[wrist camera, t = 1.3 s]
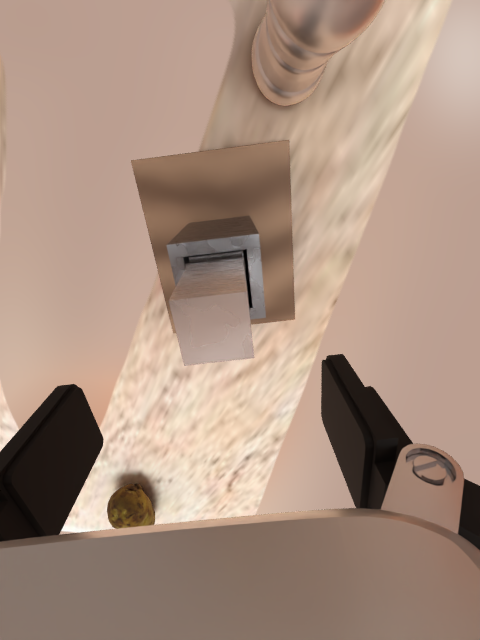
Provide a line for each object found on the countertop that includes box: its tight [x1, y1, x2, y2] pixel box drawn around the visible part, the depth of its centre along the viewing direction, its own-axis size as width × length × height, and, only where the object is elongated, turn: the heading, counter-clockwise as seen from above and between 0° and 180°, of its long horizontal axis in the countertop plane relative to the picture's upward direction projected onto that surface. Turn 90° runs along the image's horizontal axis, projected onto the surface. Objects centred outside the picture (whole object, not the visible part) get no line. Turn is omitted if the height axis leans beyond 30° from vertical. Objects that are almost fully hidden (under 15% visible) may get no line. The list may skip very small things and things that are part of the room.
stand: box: [131, 140, 295, 333], centre depth 28 cm, size 20×16×14 cm
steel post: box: [169, 250, 254, 366], centre depth 24 cm, size 4×4×20 cm
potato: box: [107, 484, 155, 529], centre depth 50 cm, size 8×13×8 cm, turn 165°
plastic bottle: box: [251, 0, 385, 106], centre depth 18 cm, size 6×7×20 cm
